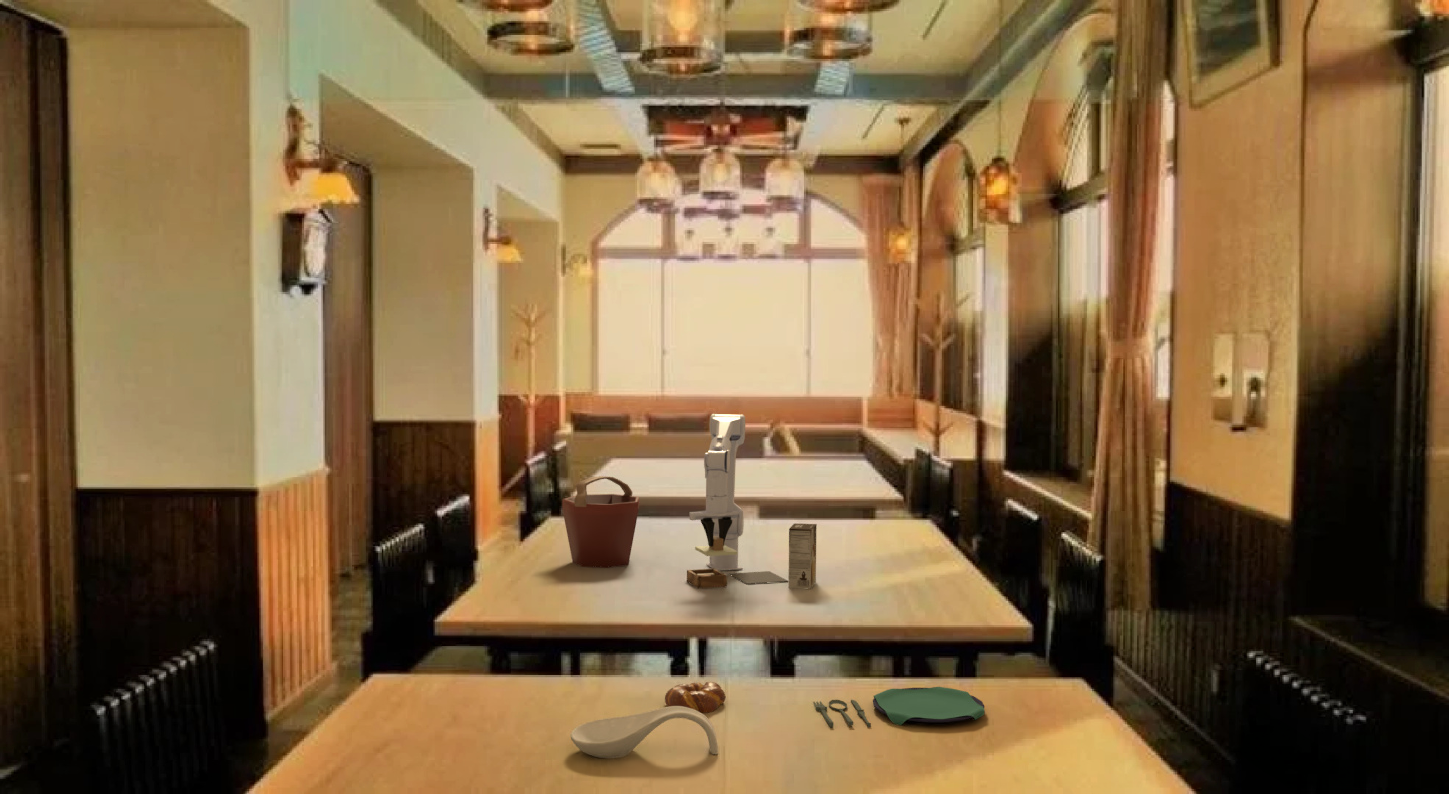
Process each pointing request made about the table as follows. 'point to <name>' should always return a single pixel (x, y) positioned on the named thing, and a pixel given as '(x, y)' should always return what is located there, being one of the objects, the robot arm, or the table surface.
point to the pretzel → (696, 696)
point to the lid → (716, 548)
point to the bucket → (600, 525)
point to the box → (706, 578)
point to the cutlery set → (916, 705)
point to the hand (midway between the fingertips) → (716, 545)
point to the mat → (758, 577)
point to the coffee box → (802, 555)
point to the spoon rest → (633, 731)
